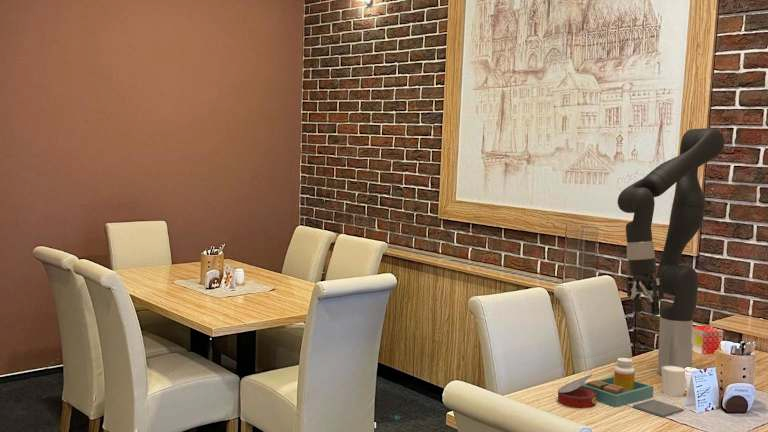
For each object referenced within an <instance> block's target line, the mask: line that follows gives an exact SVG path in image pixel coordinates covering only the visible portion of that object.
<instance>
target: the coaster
mask: <svg viewBox="0 0 768 432" xmlns="http://www.w3.org/2000/svg"><path fill="white" fill-rule="evenodd" d="M631 407H632V409H636V410H638V411H641V412H645V413H648V414H651V415H654V416H656V417H660V418H666V416H667V417H669V415H670V416H673V415H675V414H674V413H676V414H679V413H682V411H683V412H684V411H685V410H684V409H685V408H682V407H679V406H676V405H673V404H669V403H666V402H663V401H661V400H656V399H650V400H646V401H643V402H640V403H636V404H633V405H632V406H631ZM678 412H679V413H678ZM672 414H673V415H672Z"/></svg>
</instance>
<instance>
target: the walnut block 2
mask: <svg viewBox="0 0 768 432" xmlns="http://www.w3.org/2000/svg"><path fill="white" fill-rule="evenodd" d="M603 391H606V392H609V393H612V394H615V395H617V394H620V393H624V387H621V386H617V385H613V384H609V385H607V386H605V387H603Z"/></svg>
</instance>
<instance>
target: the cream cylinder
mask: <svg viewBox="0 0 768 432" xmlns="http://www.w3.org/2000/svg"><path fill="white" fill-rule="evenodd" d="M661 371H662V375H661V387H662V388H661V389H662V390H661V391H662V394H665V395H666V396H670V395H671V396H672V397H683V396H684V395H685V391H686V385H685V368H683V367H678V366H662V367H661ZM682 395H683V396H682ZM671 396H670V397H671Z"/></svg>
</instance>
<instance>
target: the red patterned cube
mask: <svg viewBox="0 0 768 432" xmlns="http://www.w3.org/2000/svg"><path fill="white" fill-rule="evenodd" d="M721 341H723V342H724V330H723V329H719V328H717V327H714V326H711V325H692V344H693V348H692V352H695V353H698V354H700V355H715V354H714V352H715V350H717V349H718V348H719V345H720V342H721Z"/></svg>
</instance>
